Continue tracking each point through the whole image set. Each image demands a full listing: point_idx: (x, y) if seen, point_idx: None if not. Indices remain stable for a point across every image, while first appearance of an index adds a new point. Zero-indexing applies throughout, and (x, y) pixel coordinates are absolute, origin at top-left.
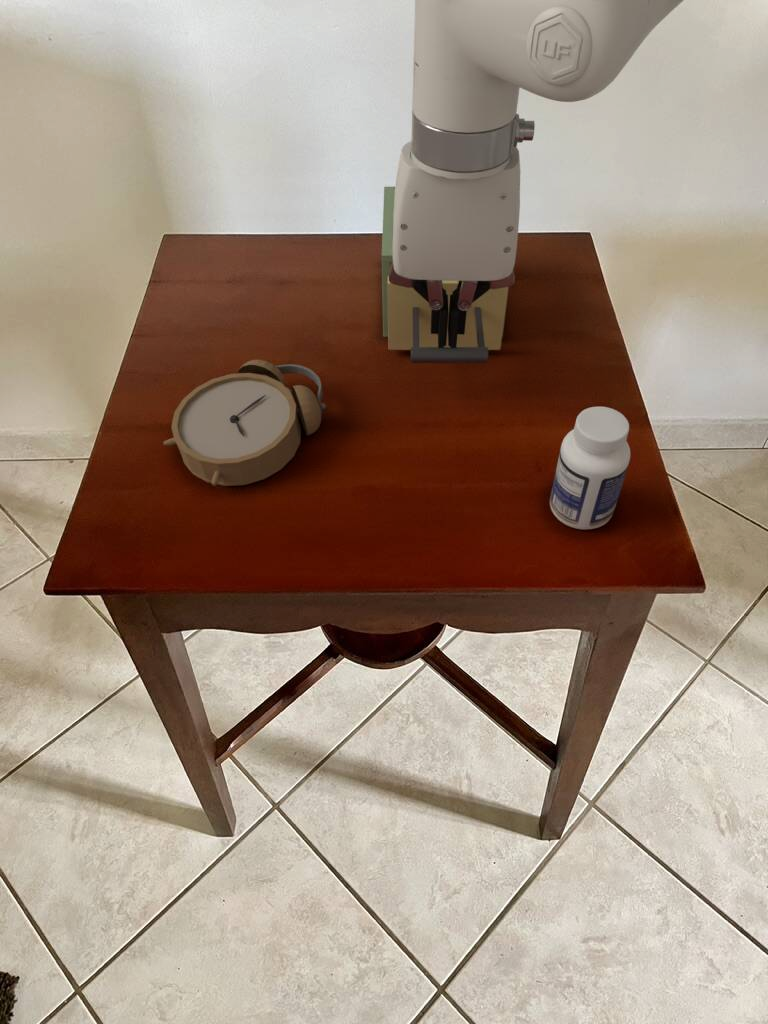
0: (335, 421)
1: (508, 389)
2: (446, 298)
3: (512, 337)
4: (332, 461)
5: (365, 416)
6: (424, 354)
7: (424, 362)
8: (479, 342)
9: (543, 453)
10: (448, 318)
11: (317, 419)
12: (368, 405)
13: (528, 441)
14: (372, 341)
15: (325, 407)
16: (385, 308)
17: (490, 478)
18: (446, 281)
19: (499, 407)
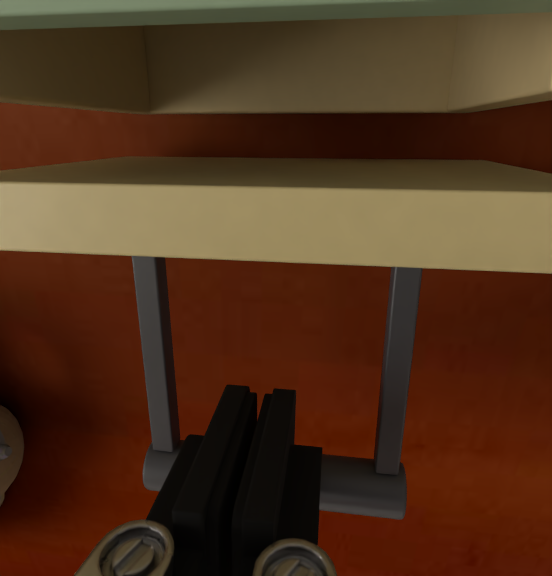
0: (60, 404)
1: (464, 334)
2: (210, 555)
3: None
4: (78, 496)
5: (117, 395)
6: None
7: None
8: (382, 451)
9: (494, 527)
10: (259, 417)
11: (3, 489)
12: (118, 364)
13: (470, 495)
14: (87, 110)
15: (9, 455)
16: None
17: (368, 566)
18: (236, 241)
19: (425, 394)
